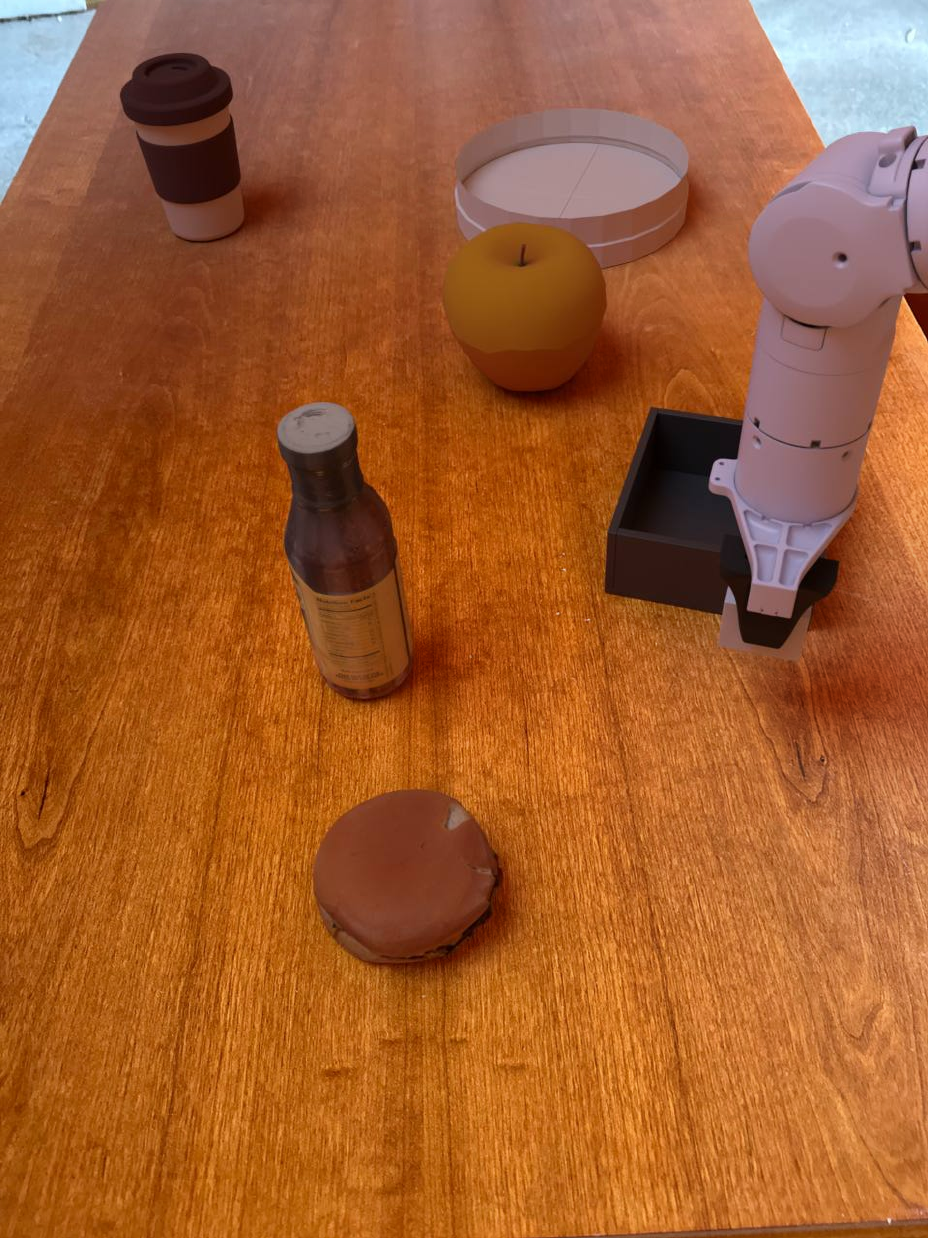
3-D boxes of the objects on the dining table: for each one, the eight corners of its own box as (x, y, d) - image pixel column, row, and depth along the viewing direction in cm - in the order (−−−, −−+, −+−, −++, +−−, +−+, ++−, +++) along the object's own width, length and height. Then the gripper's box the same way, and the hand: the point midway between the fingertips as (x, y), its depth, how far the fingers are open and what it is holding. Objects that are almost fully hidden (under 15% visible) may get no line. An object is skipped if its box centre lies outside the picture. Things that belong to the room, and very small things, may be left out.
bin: (830, 496, 81) (845, 434, 76) (808, 631, 72) (823, 570, 68) (646, 466, 84) (650, 406, 80) (604, 592, 76) (607, 532, 72)
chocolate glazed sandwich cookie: (284, 920, 61) (269, 876, 57) (384, 793, 66) (376, 745, 62) (439, 1013, 57) (433, 971, 53) (533, 870, 62) (532, 824, 59)
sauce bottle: (344, 621, 75) (293, 370, 60) (431, 644, 73) (400, 391, 59) (299, 695, 71) (232, 446, 56) (390, 721, 69) (346, 470, 55)
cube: (807, 609, 64) (818, 564, 61) (799, 662, 62) (810, 617, 59) (728, 595, 65) (736, 550, 63) (717, 646, 63) (724, 602, 60)
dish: (423, 254, 106) (418, 204, 102) (495, 146, 119) (493, 98, 116) (659, 284, 100) (663, 232, 96) (707, 167, 114) (712, 117, 110)
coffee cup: (185, 261, 107) (143, 101, 96) (141, 222, 113) (96, 66, 102) (277, 225, 111) (246, 67, 100) (229, 189, 117) (194, 35, 106)
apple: (506, 441, 87) (500, 310, 78) (416, 362, 94) (403, 235, 86) (638, 378, 91) (647, 248, 83) (542, 307, 99) (541, 181, 90)
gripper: (744, 312, 58) (716, 510, 68) (694, 498, 49) (669, 695, 59) (889, 329, 56) (838, 530, 66) (865, 526, 47) (810, 724, 57)
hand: (767, 610), depth 62 cm, fingers closed on cube, 4 cm apart
